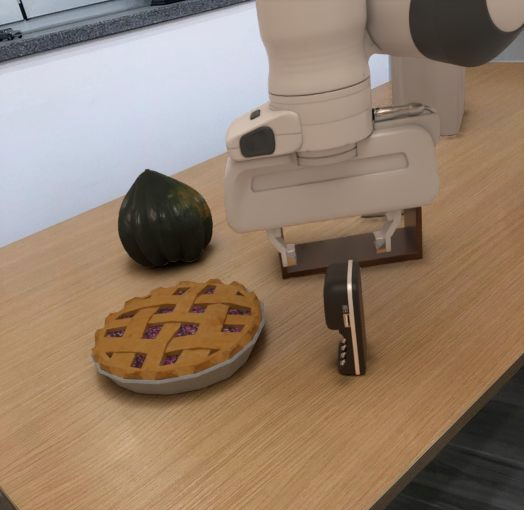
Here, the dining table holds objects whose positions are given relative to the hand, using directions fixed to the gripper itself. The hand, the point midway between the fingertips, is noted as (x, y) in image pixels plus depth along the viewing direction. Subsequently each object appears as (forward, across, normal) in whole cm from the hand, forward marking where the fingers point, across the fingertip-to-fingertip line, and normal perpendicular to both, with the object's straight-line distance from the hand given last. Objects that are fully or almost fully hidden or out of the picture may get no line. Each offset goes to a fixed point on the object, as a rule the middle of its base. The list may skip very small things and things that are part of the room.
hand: (336, 257), depth 61 cm
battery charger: (+13, 0, 0) cm, 13 cm away
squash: (+13, +25, -35) cm, 45 cm away
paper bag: (+13, -28, -85) cm, 90 cm away
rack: (+13, -3, -26) cm, 29 cm away
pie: (+13, +20, -7) cm, 25 cm away
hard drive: (+13, -12, -44) cm, 47 cm away
